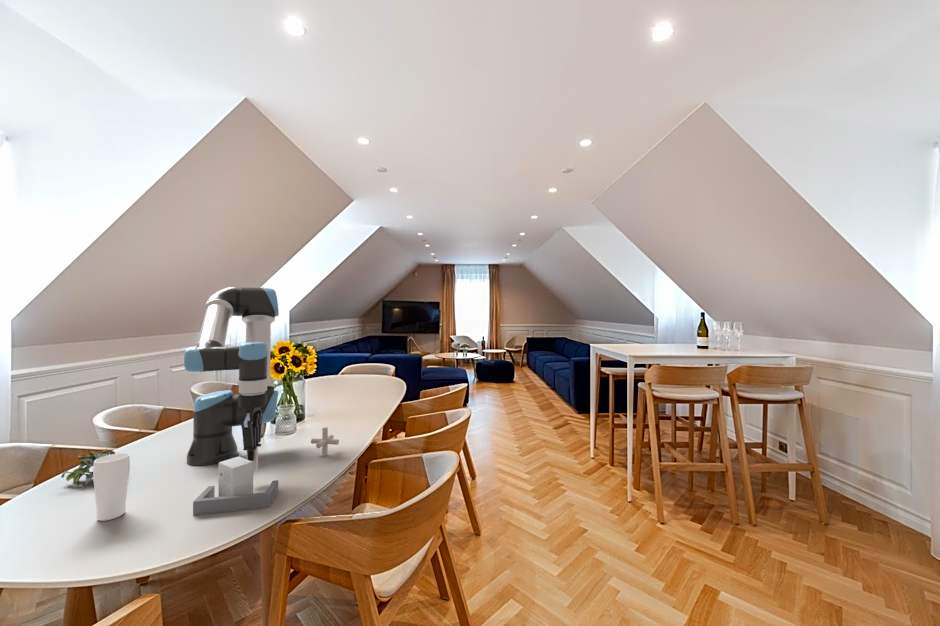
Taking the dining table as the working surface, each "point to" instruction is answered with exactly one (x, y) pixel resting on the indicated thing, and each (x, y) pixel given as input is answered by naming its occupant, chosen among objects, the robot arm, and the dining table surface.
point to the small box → (235, 477)
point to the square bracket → (233, 501)
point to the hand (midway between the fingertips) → (252, 469)
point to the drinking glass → (111, 485)
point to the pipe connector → (324, 441)
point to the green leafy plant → (89, 463)
